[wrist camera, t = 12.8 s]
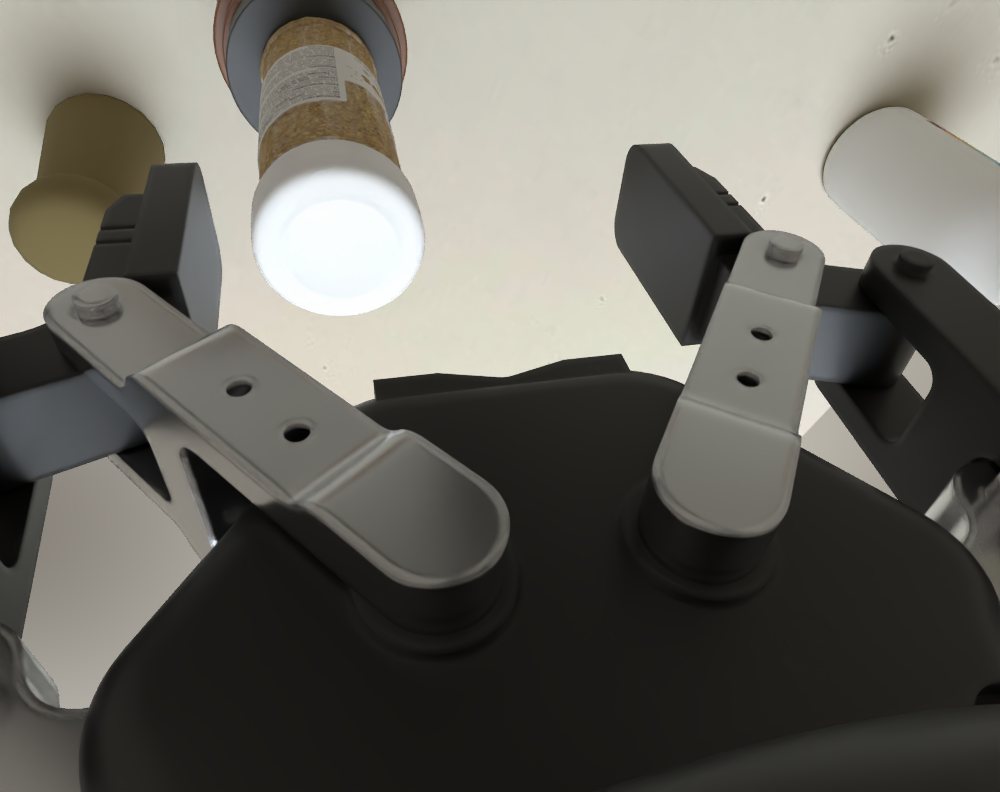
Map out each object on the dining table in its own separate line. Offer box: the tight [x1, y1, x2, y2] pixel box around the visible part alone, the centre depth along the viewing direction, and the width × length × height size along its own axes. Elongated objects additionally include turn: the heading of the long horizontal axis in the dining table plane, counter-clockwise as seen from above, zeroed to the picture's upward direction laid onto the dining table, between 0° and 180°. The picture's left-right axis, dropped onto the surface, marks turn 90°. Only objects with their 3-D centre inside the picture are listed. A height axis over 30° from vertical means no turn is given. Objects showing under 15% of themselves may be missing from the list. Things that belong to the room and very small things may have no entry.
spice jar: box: [251, 17, 425, 316], centre depth 24 cm, size 5×5×14 cm
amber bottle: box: [213, 0, 407, 133], centre depth 33 cm, size 8×8×13 cm
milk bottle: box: [823, 107, 1000, 306], centre depth 46 cm, size 8×8×20 cm
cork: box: [9, 94, 165, 284], centre depth 37 cm, size 6×6×11 cm
